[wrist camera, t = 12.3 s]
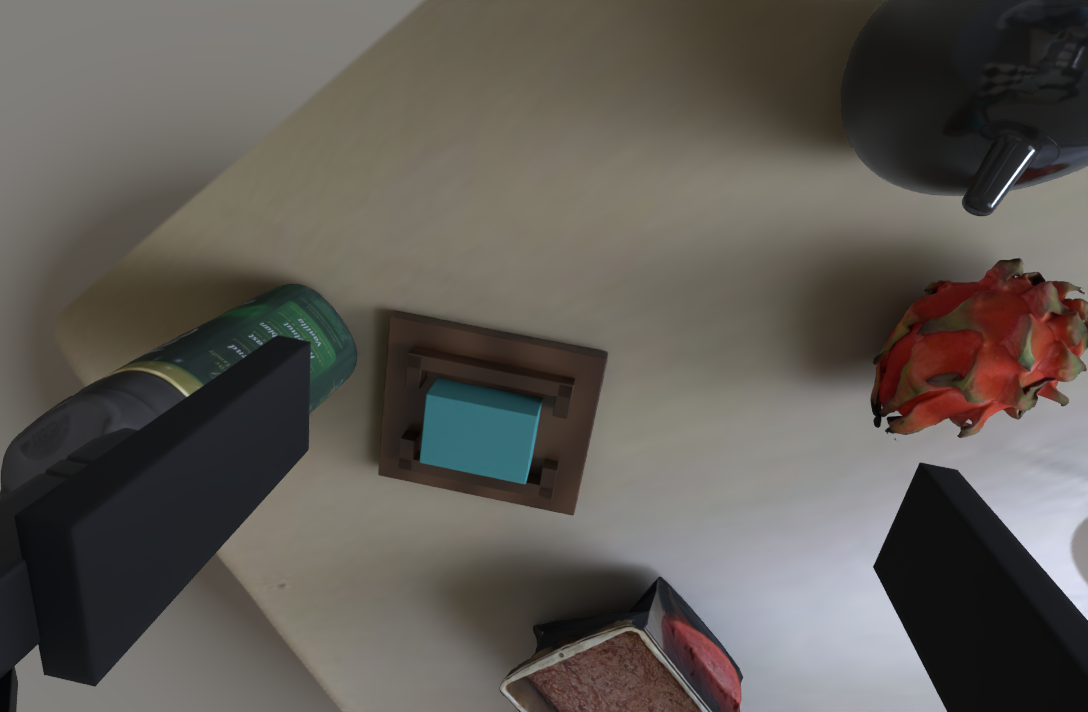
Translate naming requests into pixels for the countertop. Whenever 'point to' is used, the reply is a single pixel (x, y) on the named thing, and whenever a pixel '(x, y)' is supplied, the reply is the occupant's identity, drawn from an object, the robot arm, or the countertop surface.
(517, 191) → the countertop surface
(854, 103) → the black rounded piece
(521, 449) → the pad
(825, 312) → the countertop surface
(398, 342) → the back plate
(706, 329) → the countertop surface
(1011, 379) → the dragon fruit
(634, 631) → the rectangular planter
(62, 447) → the coffee jar
